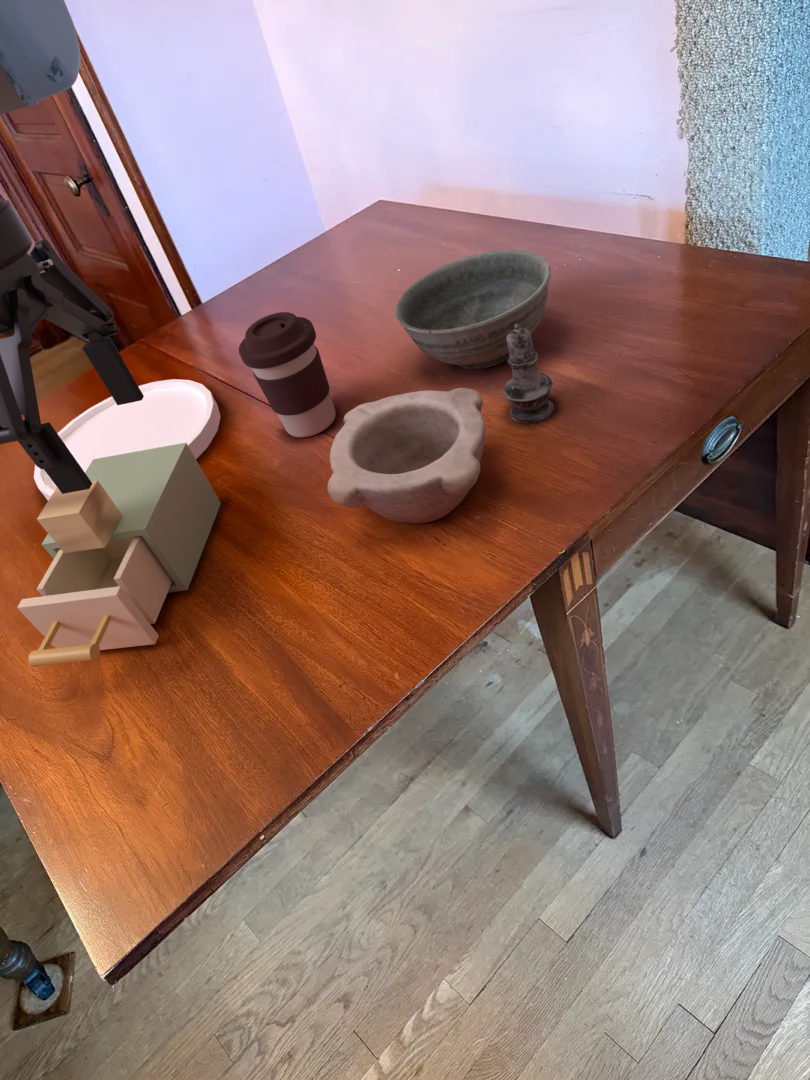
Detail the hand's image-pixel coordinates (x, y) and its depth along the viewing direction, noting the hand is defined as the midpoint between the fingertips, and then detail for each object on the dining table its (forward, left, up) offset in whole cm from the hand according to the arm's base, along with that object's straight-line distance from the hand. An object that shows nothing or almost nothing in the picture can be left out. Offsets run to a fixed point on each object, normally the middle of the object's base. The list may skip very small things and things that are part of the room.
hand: (106, 442), depth 69 cm
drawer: (-4, +9, -20) cm, 22 cm away
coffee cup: (+30, -7, -21) cm, 37 cm away
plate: (+32, +22, -21) cm, 44 cm away
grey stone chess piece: (+24, -37, -21) cm, 49 cm away
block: (+1, +9, -11) cm, 14 cm away
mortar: (+10, -25, -21) cm, 34 cm away
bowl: (+40, -31, -21) cm, 55 cm away
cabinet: (+8, +9, -21) cm, 24 cm away
